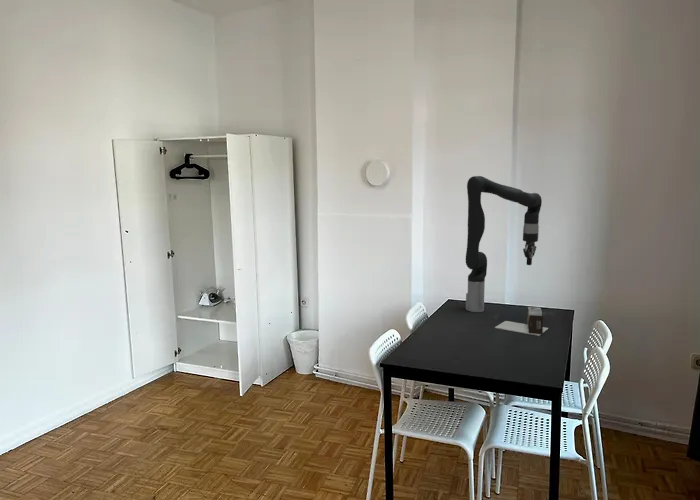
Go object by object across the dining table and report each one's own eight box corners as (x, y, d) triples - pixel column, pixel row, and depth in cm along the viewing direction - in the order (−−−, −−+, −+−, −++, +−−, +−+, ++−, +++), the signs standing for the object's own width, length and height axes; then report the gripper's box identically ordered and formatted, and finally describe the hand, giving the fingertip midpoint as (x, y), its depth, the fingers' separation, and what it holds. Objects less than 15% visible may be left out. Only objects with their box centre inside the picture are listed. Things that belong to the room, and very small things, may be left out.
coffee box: (540, 324, 267) (542, 334, 252) (526, 323, 269) (528, 333, 253) (541, 307, 265) (543, 316, 250) (527, 306, 267) (529, 315, 252)
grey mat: (494, 328, 264) (494, 327, 264) (505, 321, 275) (505, 320, 274) (539, 335, 250) (539, 335, 250) (548, 328, 261) (548, 328, 261)
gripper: (528, 230, 278) (526, 262, 281) (518, 232, 268) (517, 266, 271) (542, 231, 273) (540, 263, 276) (533, 233, 263) (531, 267, 266)
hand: (529, 264), depth 274 cm, fingers closed
